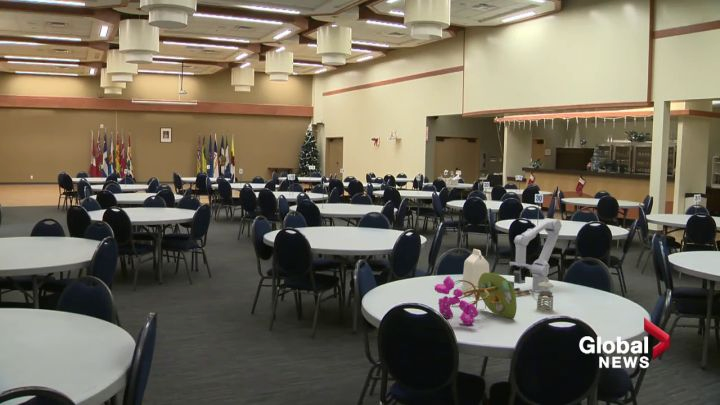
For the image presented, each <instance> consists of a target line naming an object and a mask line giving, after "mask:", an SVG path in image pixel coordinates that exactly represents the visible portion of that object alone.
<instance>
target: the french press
mask: <svg viewBox="0 0 720 405" xmlns="http://www.w3.org/2000/svg"><path fill="white" fill-rule="evenodd" d="M547 263H548V262H547ZM547 263H546V264H545V266H546V276H547V277H548V275H547V266H550V264H549V263H548V264H547ZM538 286H541V287H548V288H554V287H555V285H554V284H553V283H551V282H550V281H549V282H541V283H539V284H538ZM536 288H538V287H536ZM533 290H535V288H534V289H533ZM537 293H538V294H537V298H536V296H535V293H534V291H531V295H532V298H533V299H534V300H535V301H536V309H535V312H536V313H540V314H550V315H551V314H555V312H556V311H555V310H554V295H553V292H552V291H540V292H537Z"/></svg>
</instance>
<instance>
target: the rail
mask: <svg viewBox="0 0 720 405" xmlns="http://www.w3.org/2000/svg"><path fill="white" fill-rule="evenodd" d="M508 281H509V282H510V284H511V285H512V287H513V288H514V291H515V295H516V298H518V297H519V298H520V297H522V296H523V297H525V296H529V295H532V291H531V292H530V289H526V290H521V287H515V283H514V281H513V280H512V281H511V280H508Z"/></svg>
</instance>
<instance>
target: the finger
mask: <svg viewBox="0 0 720 405" xmlns="http://www.w3.org/2000/svg"><path fill="white" fill-rule="evenodd" d="M513 274H514V276H513V278H514V279H513V282H514V284H519V285H522V284H526V279H525V280H522V279H521V270H517V271H514V272H513Z"/></svg>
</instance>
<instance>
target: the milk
mask: <svg viewBox="0 0 720 405" xmlns="http://www.w3.org/2000/svg"><path fill="white" fill-rule="evenodd" d="M483 273H490V263H489V262H488V260H487V259H486V258H485V257H484V256H483V255H482V252H481V250H480V249H476V248H473V250H472V253H471V254H470V255H469V256H468V257H467V258H466V259H465V260H464V263H463V272H462V280H465V281H468V282H471V283H472V284H473V285H474V286H478V281H479V278H480V276H481V275H482V274H483ZM461 284H462V287H461V291H462V292H466V291H469V290H474V288H473V286H472V285H471V284H469V283H467V282H464V281H462V283H461ZM471 287H472V288H471ZM469 288H470V289H469ZM475 288H476V289H479V288H478V287H475ZM467 289H468V290H467ZM469 294H470V293H466V295H469ZM476 295H477V292H476ZM471 297H473V298H475V295H474V293H473V294H472V295H470V298H471ZM480 298H481V296H480Z"/></svg>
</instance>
